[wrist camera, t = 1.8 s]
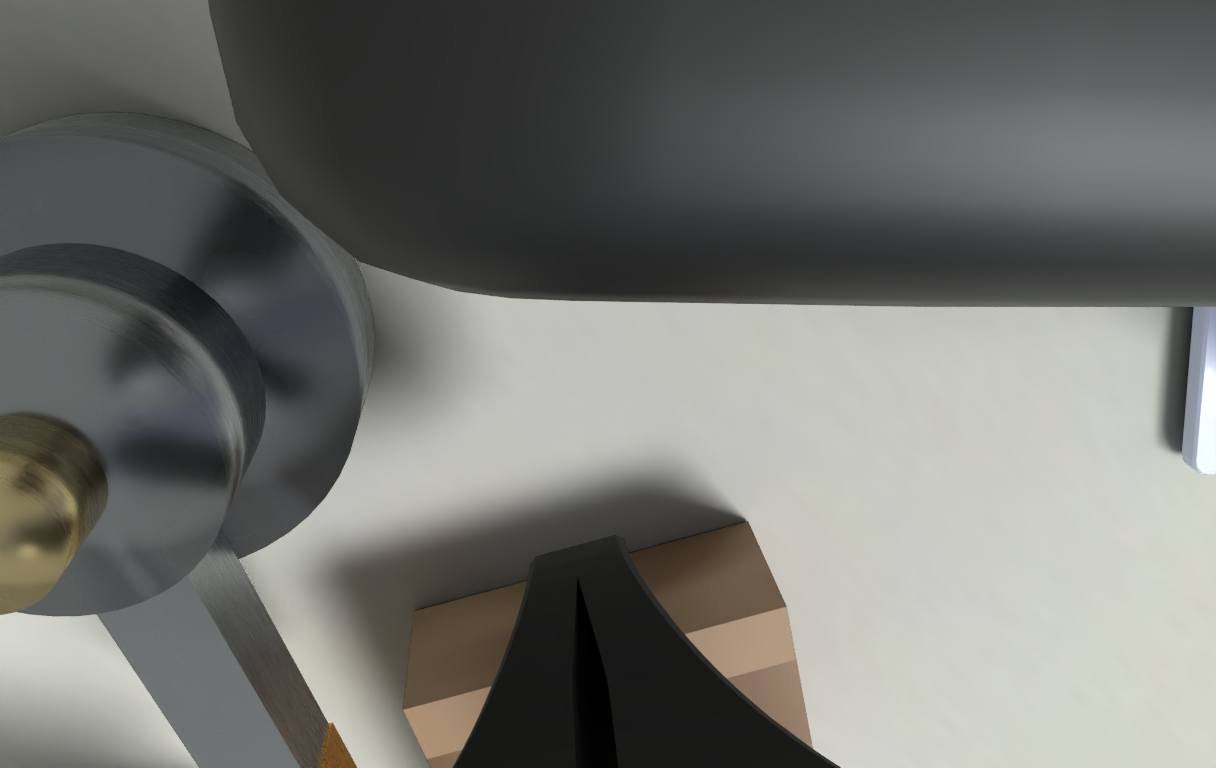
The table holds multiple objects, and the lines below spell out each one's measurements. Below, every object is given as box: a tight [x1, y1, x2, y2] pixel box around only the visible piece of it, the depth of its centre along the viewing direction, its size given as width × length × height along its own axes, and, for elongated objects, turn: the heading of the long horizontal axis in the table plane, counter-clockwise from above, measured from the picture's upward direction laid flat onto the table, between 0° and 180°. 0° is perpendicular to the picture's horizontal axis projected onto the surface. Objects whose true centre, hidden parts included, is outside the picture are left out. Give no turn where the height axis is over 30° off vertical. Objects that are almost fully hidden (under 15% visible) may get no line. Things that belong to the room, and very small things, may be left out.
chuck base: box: [0, 112, 375, 615], centre depth 12 cm, size 7×7×6 cm
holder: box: [403, 521, 813, 768], centre depth 18 cm, size 7×7×3 cm
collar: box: [0, 243, 357, 768], centre depth 13 cm, size 4×11×2 cm, turn 14°
